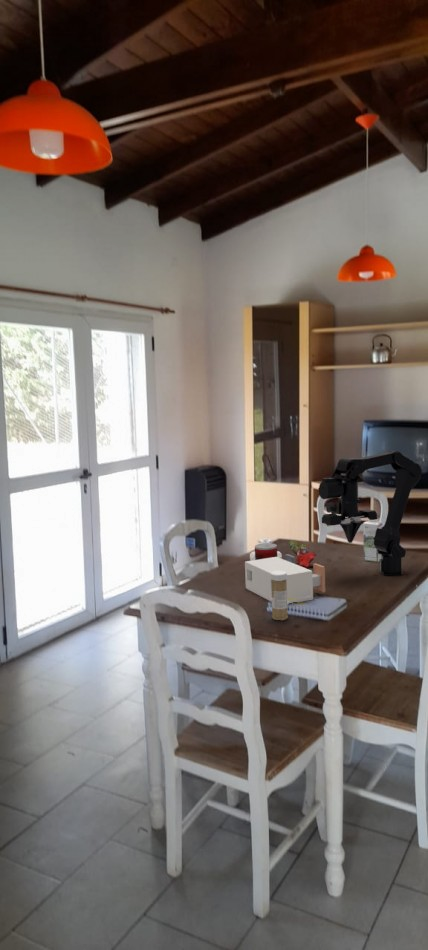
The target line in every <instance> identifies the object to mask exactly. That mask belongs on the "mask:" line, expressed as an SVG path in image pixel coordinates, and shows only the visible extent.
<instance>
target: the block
mask: <svg viewBox="0 0 428 950" xmlns="http://www.w3.org/2000/svg"><path fill="white" fill-rule="evenodd" d="M296 564H297V563H296ZM296 564H294V563H291V562H289V561H286V560H285V558H284V559H283V558H282V559H281V558H279V557H272V558H265V559H259V560H252V561H250V560H247V561H244V570H245V571H244V574H245V576H244V577H245V580H244V581H245V589H247V590H248V591H250V592H252V593H254V594H256V595H258V596H259V597H261V598H263V599H265V600H267V601H269V602H271V603H272V583H271V572H273V571H285V572H286V573H287V580H286V587H287V599H293V598H300V597H306V596H312V597H307V598H301V599H296V600H291V601H290V602H297V603H301V602H306V601H312V600H314V587H313V575H312V574H313V570H311V569H309V568H304V567H301V566H300V564H298V565H296Z"/></svg>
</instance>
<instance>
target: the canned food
mask: <svg viewBox="0 0 428 950" xmlns="http://www.w3.org/2000/svg"><path fill="white" fill-rule="evenodd" d="M254 551H255V560H259V559H265V558H272V557H277V551H278V545H277V544H276V543H273V542H272V543H262V544H261V543H258V544H255V545H254Z"/></svg>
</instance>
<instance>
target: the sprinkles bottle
mask: <svg viewBox="0 0 428 950" xmlns="http://www.w3.org/2000/svg"><path fill="white" fill-rule="evenodd" d="M286 580H287V573H286V572H285V571H273V572H271V583H272V602H271V610H272V611H271V612H272V613H271V614H272V616H271V618H272V619H273V620H276V621H285V620H287V619H288V618H289V616H288V604H287V587H286Z"/></svg>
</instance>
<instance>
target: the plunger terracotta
mask: <svg viewBox="0 0 428 950" xmlns="http://www.w3.org/2000/svg"><path fill="white" fill-rule="evenodd" d="M312 565H313V567H312V568H313V570H312V575H313V590H316V591H319V592H321V593H326V569H325V566H324V565H322V564H318V563H313V564H312Z"/></svg>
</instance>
